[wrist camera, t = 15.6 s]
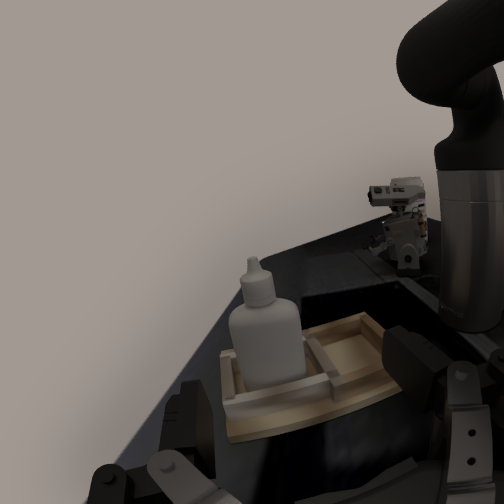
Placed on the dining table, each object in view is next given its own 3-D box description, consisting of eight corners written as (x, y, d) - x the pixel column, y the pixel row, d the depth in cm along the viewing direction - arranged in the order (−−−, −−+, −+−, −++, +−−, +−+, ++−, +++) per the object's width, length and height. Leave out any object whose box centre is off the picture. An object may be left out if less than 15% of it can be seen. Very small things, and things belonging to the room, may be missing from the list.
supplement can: (399, 238, 62) (394, 177, 59) (430, 239, 57) (425, 176, 53) (390, 247, 57) (384, 180, 54) (424, 249, 51) (419, 178, 48)
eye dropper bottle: (262, 364, 27) (238, 250, 24) (314, 373, 24) (299, 248, 21) (238, 391, 23) (204, 267, 20) (294, 405, 20) (271, 268, 17)
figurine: (373, 260, 52) (365, 184, 49) (428, 259, 46) (423, 180, 42) (364, 277, 45) (355, 189, 41) (428, 277, 38) (425, 183, 35)
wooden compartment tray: (359, 322, 32) (359, 301, 31) (419, 381, 19) (424, 356, 19) (223, 358, 31) (216, 336, 30) (230, 443, 18) (220, 421, 17)
